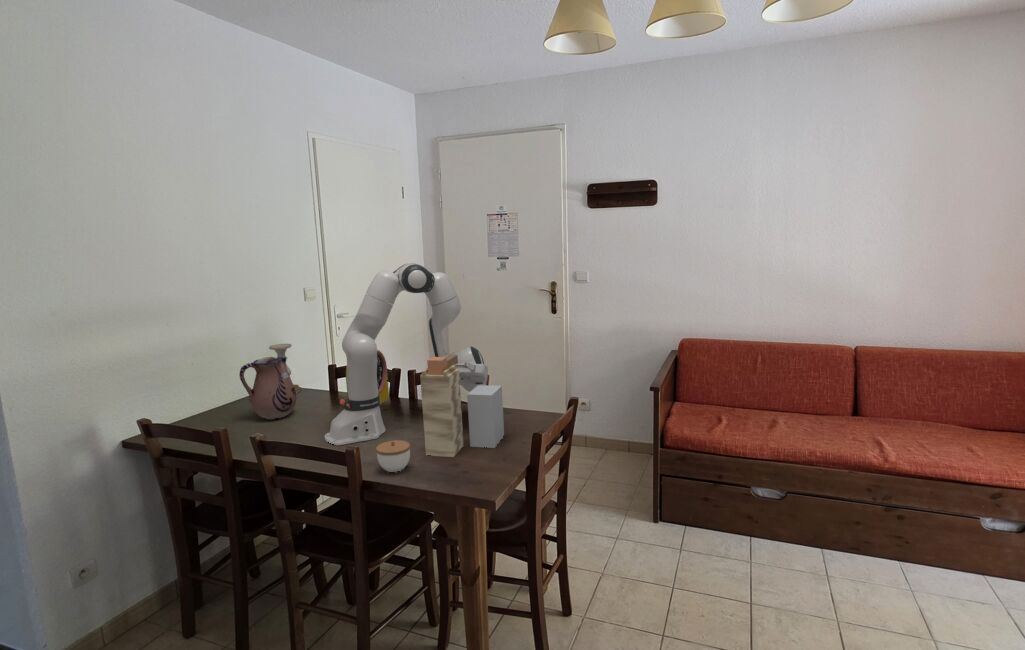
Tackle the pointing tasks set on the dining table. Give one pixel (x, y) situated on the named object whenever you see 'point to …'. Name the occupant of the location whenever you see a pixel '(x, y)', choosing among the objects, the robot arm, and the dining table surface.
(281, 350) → the candle holder
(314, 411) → the dining table surface
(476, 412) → the pedestal
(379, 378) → the alarm clock
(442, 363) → the orange brown rectangular bar
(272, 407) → the ceramic pitcher
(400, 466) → the lidded jar
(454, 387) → the beige wooden block tower
